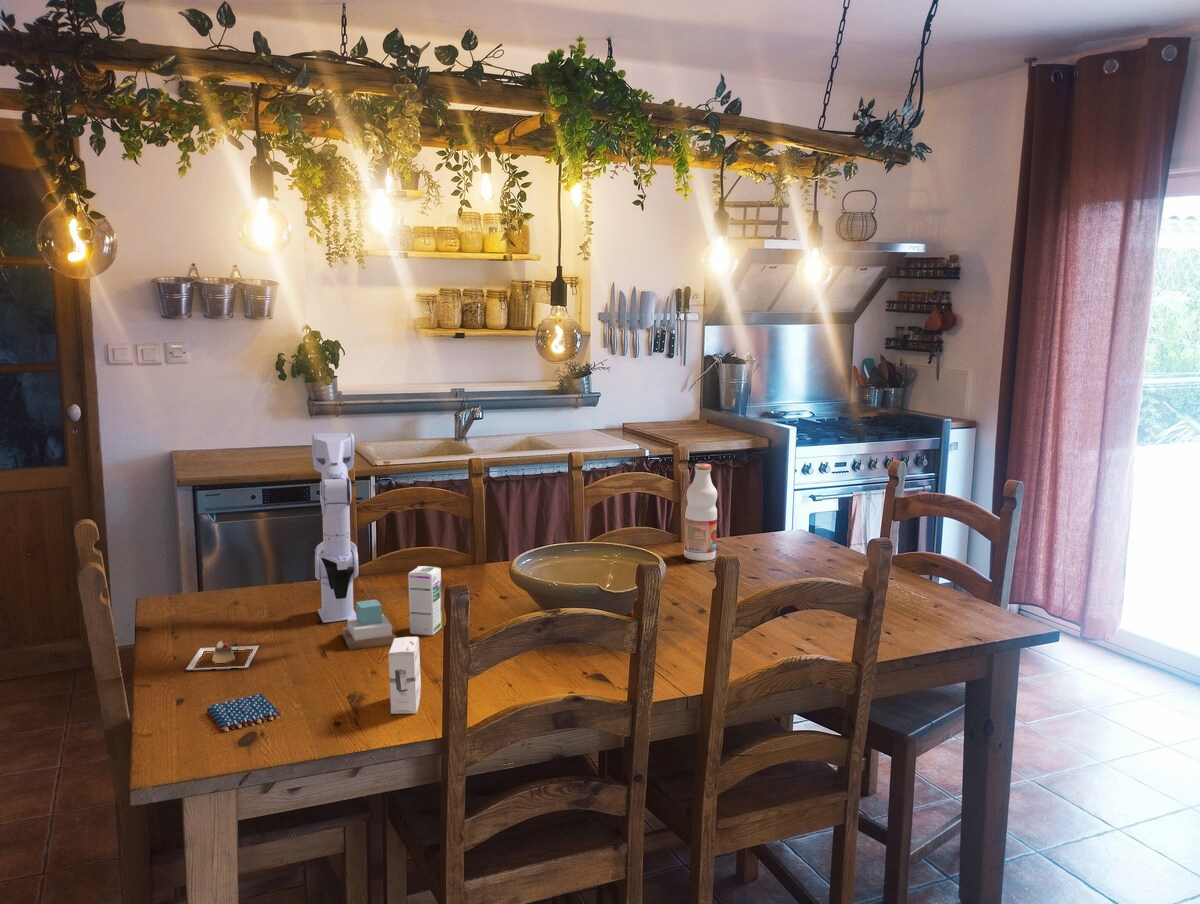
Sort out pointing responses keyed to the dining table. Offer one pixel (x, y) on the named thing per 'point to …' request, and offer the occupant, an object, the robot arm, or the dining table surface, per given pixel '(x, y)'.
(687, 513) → the fruit juice
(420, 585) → the syrup box
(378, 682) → the dining table surface
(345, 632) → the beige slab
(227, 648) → the dessert
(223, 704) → the woven mat
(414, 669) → the ink box
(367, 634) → the white slab
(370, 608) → the teal cube
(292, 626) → the dining table surface
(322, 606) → the robot arm
